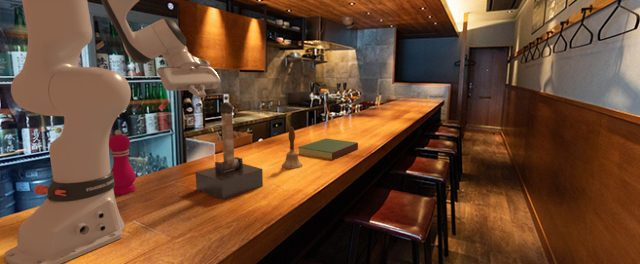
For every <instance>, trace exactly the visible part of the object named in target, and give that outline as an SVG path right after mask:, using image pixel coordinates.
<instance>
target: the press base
mask: <svg viewBox="0 0 640 264" xmlns="http://www.w3.org/2000/svg"><path fill="white" fill-rule="evenodd" d="M234 159H238V161H239V167H238V168H234V169H230V170H227V171H224V170H223V163H220V162H221V161H220V162H219V161H215V162H214V166H213V167H210V168H205V169H202V170H198V171H195V186H196V191H198V192H201V193H204V194H206V195H210V196H212V197H214V198H217V199H220V200H221V201H224V200H227V199H230V198H233V197H235V196H238V195H241V194H243V193H247V192H249V191H253V190H256V189H258V188H261V187H263V186H264V183H263V181H264V179H263V176H264V175H263V168H262V167H261V168H260V167H256V166H253V165H250V164H246V163H243V158H241V157H239V156H234Z"/></svg>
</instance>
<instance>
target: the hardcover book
mask: <svg viewBox="0 0 640 264" xmlns="http://www.w3.org/2000/svg"><path fill="white" fill-rule="evenodd" d="M297 148H298V155H304V156H310V157H315V158H316V157H317V158H321V159H328V160H332V161H333V160H335V159H338V158H340V157H342V156H345V155H347V154H350V153H352V152H354V151H356V150H359V142H356V141H349V140H341V139H332V138H322V139H319V140H317V141H316V140H315V141H313V142H310V143H307V144H303V145H300V146H298V147H297Z"/></svg>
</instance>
